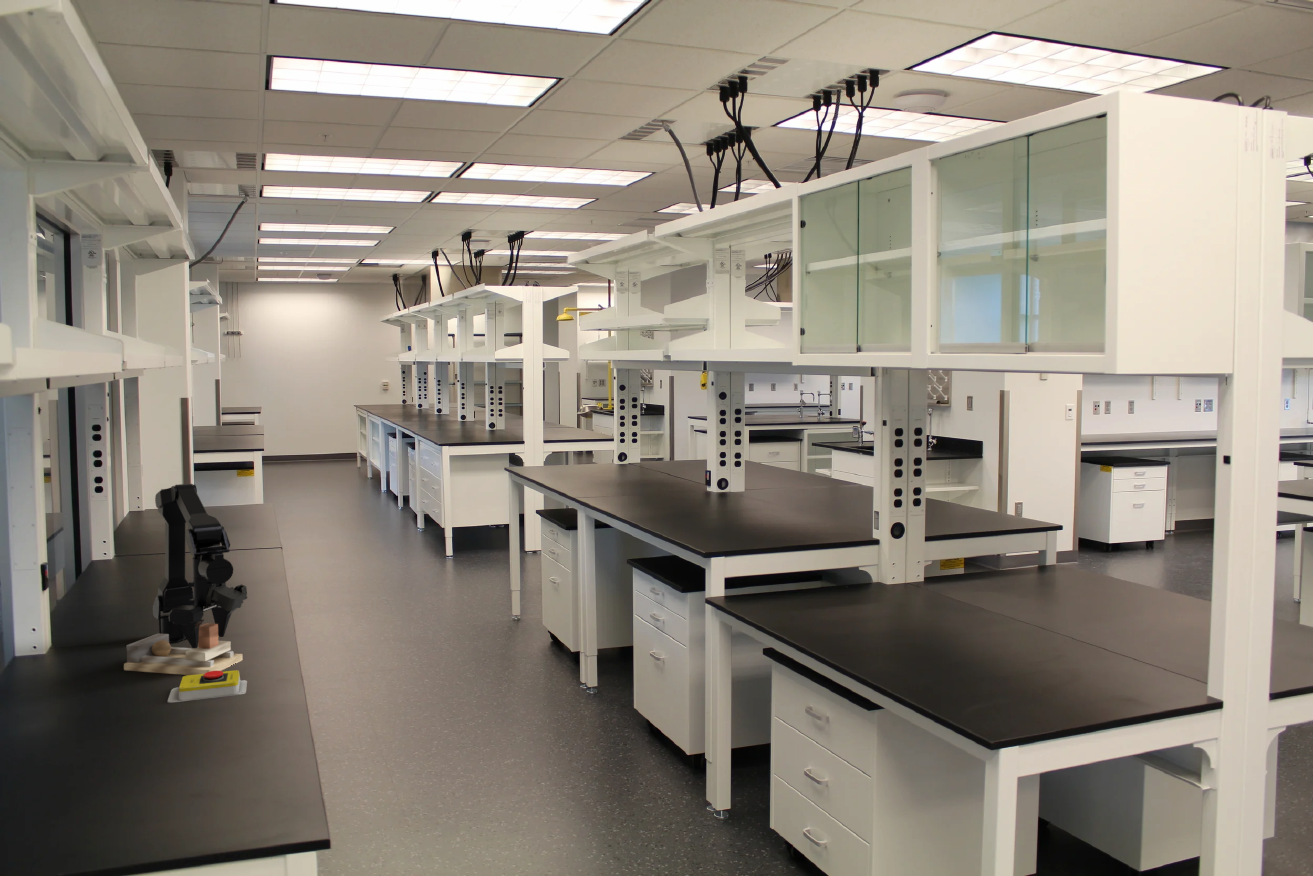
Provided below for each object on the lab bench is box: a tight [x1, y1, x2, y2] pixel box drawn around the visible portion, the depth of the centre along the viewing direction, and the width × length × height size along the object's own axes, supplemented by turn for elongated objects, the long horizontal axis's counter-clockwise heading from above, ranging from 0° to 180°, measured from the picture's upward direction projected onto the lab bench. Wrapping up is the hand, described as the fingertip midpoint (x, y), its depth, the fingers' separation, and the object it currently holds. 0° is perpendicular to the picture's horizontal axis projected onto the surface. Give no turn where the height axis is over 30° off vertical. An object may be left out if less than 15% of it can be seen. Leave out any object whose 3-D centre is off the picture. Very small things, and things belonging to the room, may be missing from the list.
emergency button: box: [167, 669, 248, 704], centre depth 196 cm, size 9×4×15 cm
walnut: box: [152, 640, 172, 657], centre depth 214 cm, size 4×4×4 cm
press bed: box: [123, 632, 244, 676], centre depth 213 cm, size 22×12×6 cm, turn 79°
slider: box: [186, 622, 232, 661], centre depth 212 cm, size 5×9×7 cm, turn 169°
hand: (208, 642), depth 212 cm, fingers open, 9 cm apart
